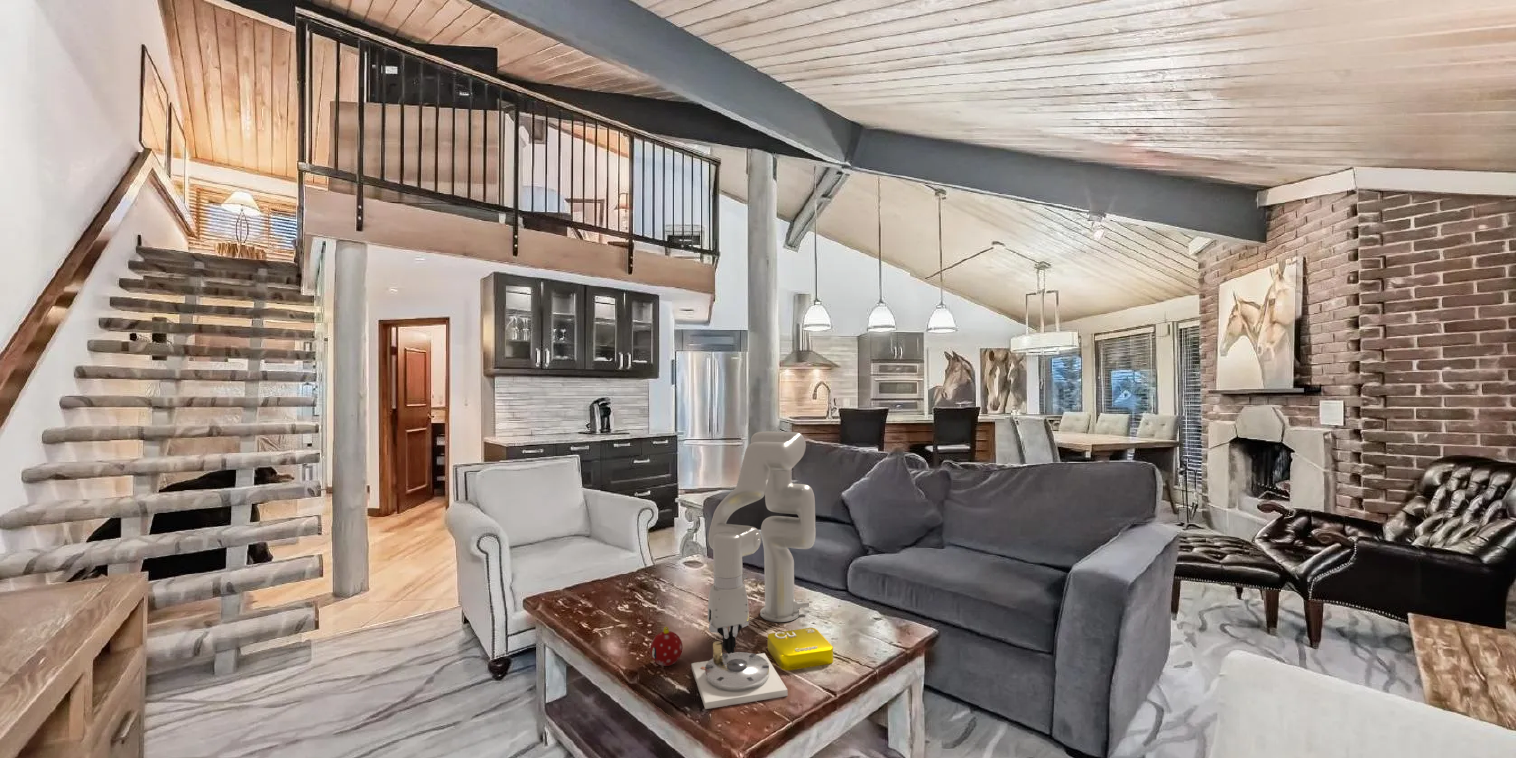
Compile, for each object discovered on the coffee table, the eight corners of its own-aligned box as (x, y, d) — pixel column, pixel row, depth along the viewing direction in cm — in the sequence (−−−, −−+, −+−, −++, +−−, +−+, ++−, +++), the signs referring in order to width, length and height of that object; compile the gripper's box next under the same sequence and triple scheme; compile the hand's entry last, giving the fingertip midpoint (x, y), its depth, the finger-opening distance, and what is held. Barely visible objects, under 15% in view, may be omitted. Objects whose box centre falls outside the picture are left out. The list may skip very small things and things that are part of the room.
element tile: (782, 673, 155) (782, 654, 155) (765, 648, 170) (765, 631, 170) (835, 664, 160) (835, 646, 160) (814, 641, 174) (814, 624, 174)
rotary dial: (780, 669, 153) (780, 643, 153) (746, 697, 139) (746, 670, 139) (729, 654, 161) (729, 630, 161) (692, 680, 148) (691, 653, 148)
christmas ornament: (689, 664, 160) (688, 627, 160) (662, 675, 154) (661, 636, 154) (670, 654, 166) (670, 618, 166) (644, 664, 160) (643, 627, 160)
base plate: (764, 658, 162) (764, 652, 162) (787, 695, 143) (787, 688, 143) (691, 668, 157) (691, 662, 157) (705, 709, 138) (705, 701, 138)
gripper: (749, 572, 161) (750, 640, 162) (696, 580, 156) (697, 650, 156) (760, 581, 155) (761, 651, 155) (705, 589, 149) (706, 663, 149)
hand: (729, 651), depth 155 cm, fingers closed
